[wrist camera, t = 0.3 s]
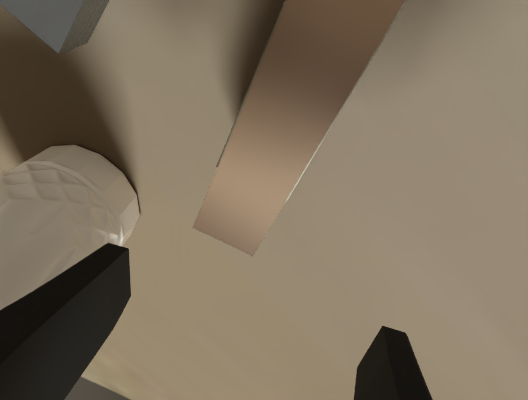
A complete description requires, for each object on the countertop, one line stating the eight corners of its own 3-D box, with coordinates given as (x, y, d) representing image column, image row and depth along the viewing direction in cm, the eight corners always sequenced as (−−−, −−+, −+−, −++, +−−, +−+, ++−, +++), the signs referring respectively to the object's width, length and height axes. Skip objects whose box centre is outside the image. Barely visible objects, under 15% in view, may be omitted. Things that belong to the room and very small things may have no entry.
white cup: (62, 243, 26) (-75, 380, 18) (3, 136, 22) (-211, 252, 14) (166, 246, 24) (64, 402, 16) (122, 129, 20) (-46, 260, 12)
